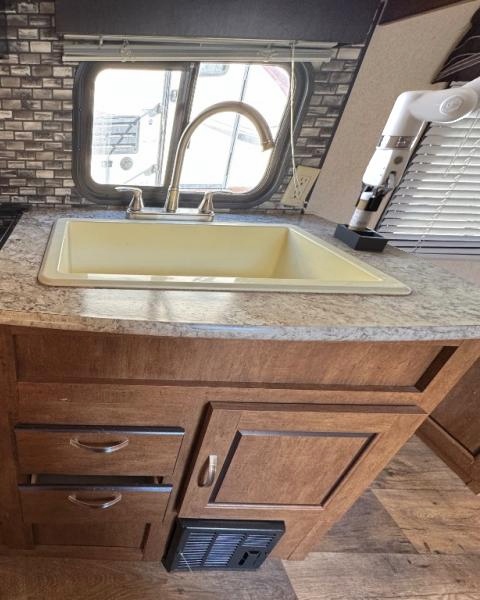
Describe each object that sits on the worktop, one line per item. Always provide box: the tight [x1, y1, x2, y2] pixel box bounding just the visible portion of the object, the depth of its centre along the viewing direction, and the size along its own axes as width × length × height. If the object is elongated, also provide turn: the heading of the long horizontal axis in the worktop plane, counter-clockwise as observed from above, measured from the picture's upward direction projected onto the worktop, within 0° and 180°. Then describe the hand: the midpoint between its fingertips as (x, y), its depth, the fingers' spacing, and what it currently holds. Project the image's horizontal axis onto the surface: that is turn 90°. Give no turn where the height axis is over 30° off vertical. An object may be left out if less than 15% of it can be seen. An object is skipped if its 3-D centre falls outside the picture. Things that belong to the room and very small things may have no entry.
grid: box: [332, 222, 390, 253], centre depth 98 cm, size 7×14×4 cm, turn 165°
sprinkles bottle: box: [348, 192, 374, 231], centre depth 98 cm, size 5×5×14 cm
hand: (365, 208), depth 97 cm, fingers closed on sprinkles bottle, 4 cm apart
